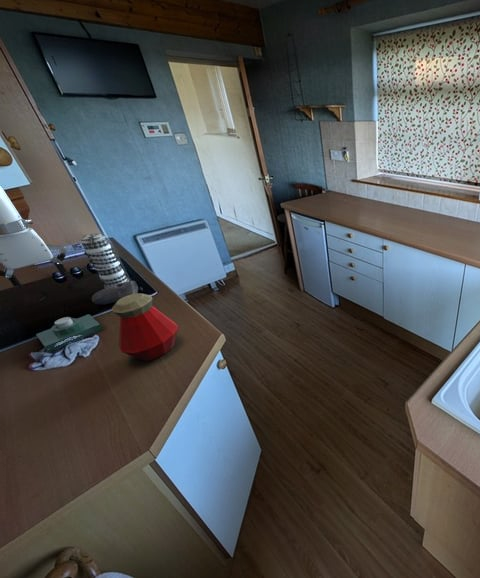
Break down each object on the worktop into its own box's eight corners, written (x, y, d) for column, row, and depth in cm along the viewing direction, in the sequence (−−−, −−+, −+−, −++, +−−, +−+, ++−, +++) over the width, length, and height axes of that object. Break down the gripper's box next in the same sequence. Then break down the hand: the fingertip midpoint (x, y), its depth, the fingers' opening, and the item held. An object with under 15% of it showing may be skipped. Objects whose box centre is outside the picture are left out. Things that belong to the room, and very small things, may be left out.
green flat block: (49, 352, 94) (40, 341, 92) (40, 339, 99) (32, 329, 97) (103, 329, 104) (96, 319, 102) (92, 319, 109) (86, 309, 107)
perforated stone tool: (95, 309, 115) (86, 294, 111) (96, 304, 118) (87, 289, 115) (141, 297, 123) (134, 282, 119) (141, 292, 126) (134, 278, 123)
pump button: (59, 330, 97) (56, 325, 96) (56, 326, 99) (52, 321, 98) (75, 324, 100) (72, 319, 99) (71, 320, 102) (68, 315, 101)
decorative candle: (117, 296, 123) (86, 240, 111) (101, 293, 126) (69, 238, 113) (138, 286, 131) (111, 232, 118) (123, 283, 133) (95, 230, 121)
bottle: (169, 330, 103) (145, 281, 93) (193, 341, 98) (171, 290, 88) (118, 359, 91) (84, 306, 81) (143, 373, 86) (110, 318, 76)
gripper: (45, 218, 91) (75, 267, 99) (-44, 234, 78) (-1, 289, 87) (52, 222, 87) (82, 273, 96) (-40, 239, 75) (4, 296, 83)
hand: (43, 280), depth 91 cm, fingers open, 9 cm apart
